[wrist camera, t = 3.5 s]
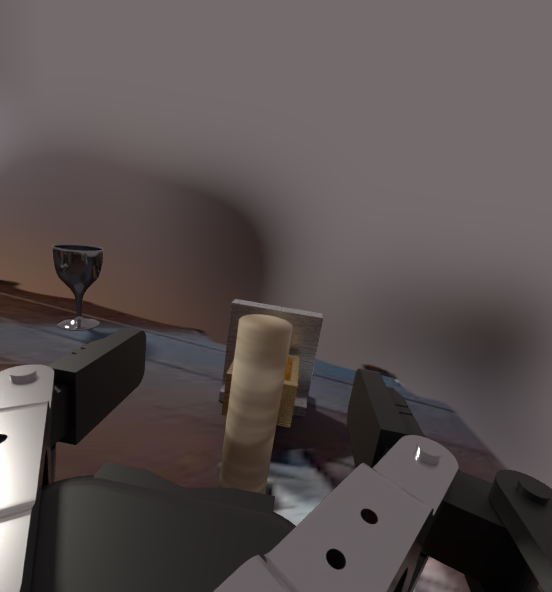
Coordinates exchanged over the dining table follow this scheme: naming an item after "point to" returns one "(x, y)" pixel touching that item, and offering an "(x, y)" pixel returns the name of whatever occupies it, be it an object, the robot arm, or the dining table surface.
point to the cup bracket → (297, 362)
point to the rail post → (254, 401)
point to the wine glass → (78, 277)
